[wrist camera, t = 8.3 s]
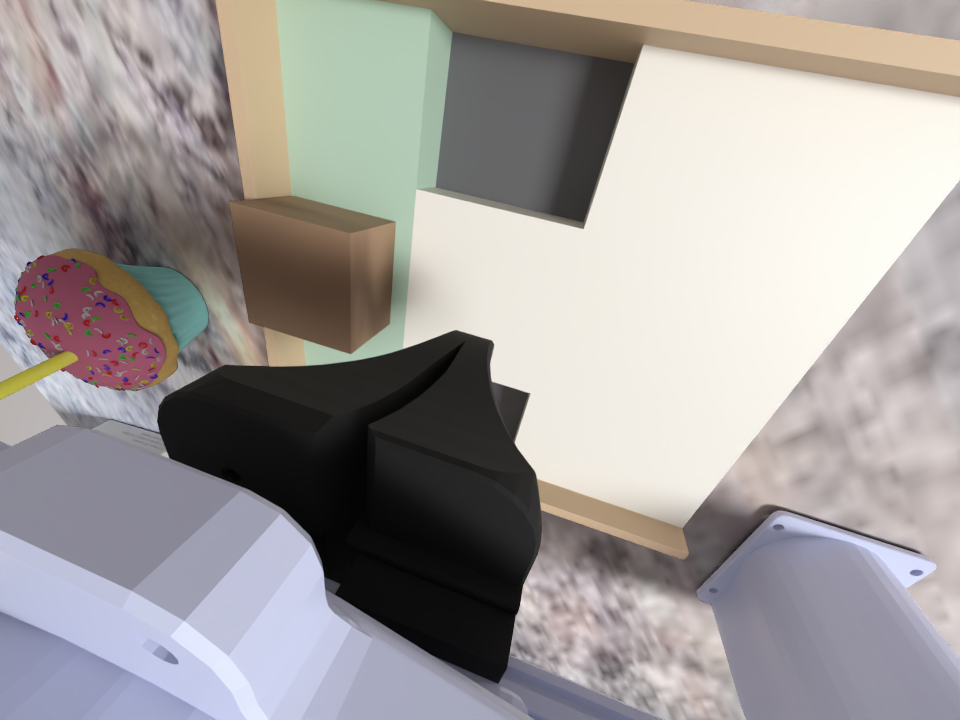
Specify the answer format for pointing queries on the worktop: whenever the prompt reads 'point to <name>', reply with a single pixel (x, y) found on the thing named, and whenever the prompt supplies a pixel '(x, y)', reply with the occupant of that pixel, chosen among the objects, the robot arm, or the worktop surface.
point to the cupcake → (105, 320)
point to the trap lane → (605, 207)
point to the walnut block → (315, 269)
